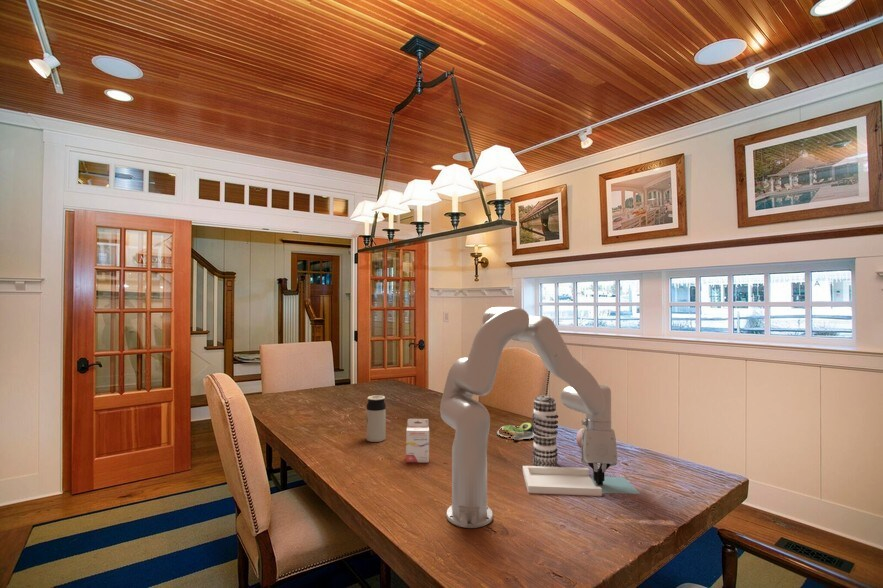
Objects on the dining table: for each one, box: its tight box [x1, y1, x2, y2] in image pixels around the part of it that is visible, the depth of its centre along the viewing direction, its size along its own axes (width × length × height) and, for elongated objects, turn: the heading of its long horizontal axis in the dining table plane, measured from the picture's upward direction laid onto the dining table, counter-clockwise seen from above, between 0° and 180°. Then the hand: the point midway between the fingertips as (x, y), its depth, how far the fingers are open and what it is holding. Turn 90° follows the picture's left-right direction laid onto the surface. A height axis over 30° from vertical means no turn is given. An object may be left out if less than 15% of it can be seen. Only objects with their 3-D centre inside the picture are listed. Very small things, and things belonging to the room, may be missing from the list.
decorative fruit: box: [575, 427, 584, 449], centre depth 167 cm, size 9×8×10 cm
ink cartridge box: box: [405, 418, 430, 463], centre depth 157 cm, size 9×5×15 cm, turn 92°
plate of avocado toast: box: [496, 421, 535, 441], centre depth 187 cm, size 19×18×5 cm
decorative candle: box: [531, 394, 559, 467], centre depth 150 cm, size 9×9×25 cm
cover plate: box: [590, 476, 640, 495], centre depth 134 cm, size 12×11×2 cm
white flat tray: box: [522, 465, 603, 497], centre depth 135 cm, size 16×22×3 cm
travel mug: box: [366, 394, 387, 443], centre depth 181 cm, size 8×8×18 cm
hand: (598, 483), depth 134 cm, fingers closed
